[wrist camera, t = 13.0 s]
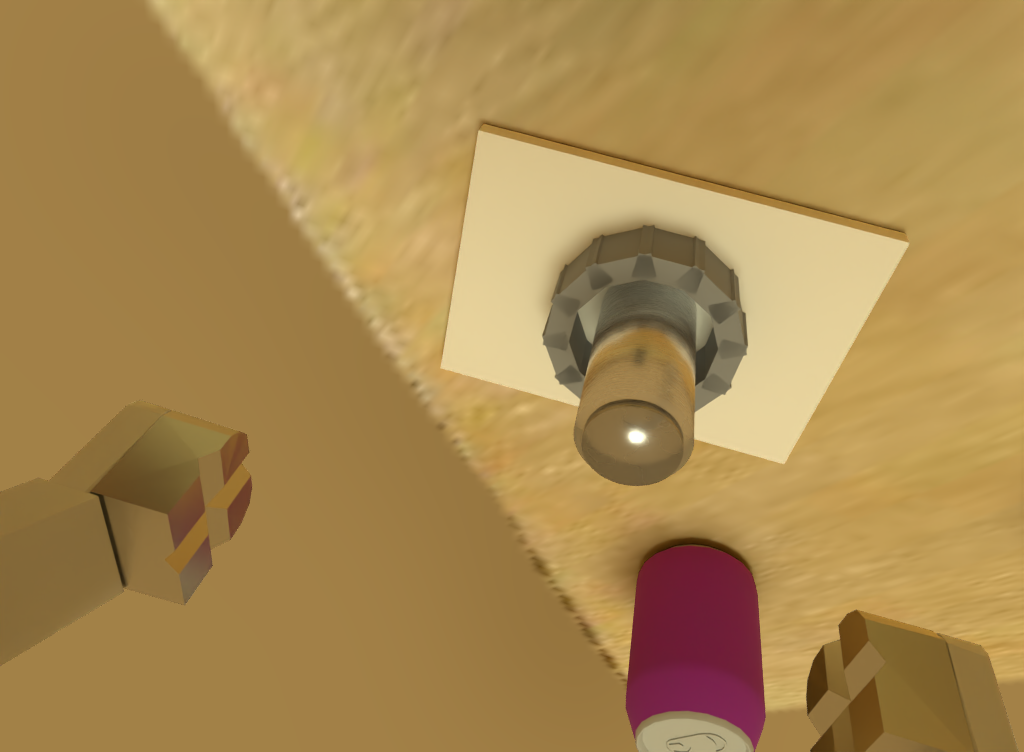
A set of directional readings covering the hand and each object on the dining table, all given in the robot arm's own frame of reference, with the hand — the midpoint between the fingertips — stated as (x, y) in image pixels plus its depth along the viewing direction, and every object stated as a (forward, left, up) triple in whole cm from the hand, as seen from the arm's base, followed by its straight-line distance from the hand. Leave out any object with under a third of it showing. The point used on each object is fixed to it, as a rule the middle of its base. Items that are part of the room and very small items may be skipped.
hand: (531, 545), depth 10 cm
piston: (-3, +12, -27) cm, 30 cm away
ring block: (-3, +12, -28) cm, 31 cm away
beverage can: (-12, +31, -28) cm, 44 cm away
